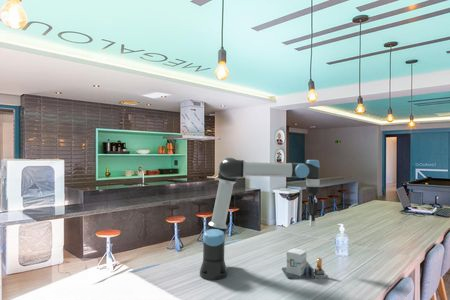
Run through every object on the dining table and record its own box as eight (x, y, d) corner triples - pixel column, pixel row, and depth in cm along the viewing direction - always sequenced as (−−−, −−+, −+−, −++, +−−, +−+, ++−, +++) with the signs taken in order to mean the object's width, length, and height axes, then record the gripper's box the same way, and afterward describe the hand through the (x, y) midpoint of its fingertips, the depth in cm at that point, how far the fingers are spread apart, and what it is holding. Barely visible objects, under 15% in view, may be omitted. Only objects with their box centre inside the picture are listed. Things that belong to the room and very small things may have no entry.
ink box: (292, 267, 177) (292, 247, 177) (306, 271, 171) (306, 250, 172) (286, 272, 170) (286, 251, 170) (300, 276, 165) (300, 254, 165)
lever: (317, 276, 166) (317, 260, 166) (314, 273, 170) (314, 257, 170) (324, 276, 167) (324, 260, 167) (321, 273, 171) (321, 257, 171)
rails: (315, 278, 164) (315, 275, 164) (305, 267, 180) (306, 265, 180) (328, 278, 165) (328, 275, 165) (318, 267, 181) (318, 265, 181)
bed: (287, 278, 164) (287, 269, 164) (281, 269, 177) (281, 260, 177) (313, 278, 165) (313, 269, 165) (306, 269, 178) (306, 260, 178)
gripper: (303, 184, 187) (302, 223, 187) (310, 187, 174) (309, 228, 174) (315, 184, 188) (314, 223, 187) (323, 187, 175) (322, 228, 174)
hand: (312, 226), depth 181 cm, fingers closed
